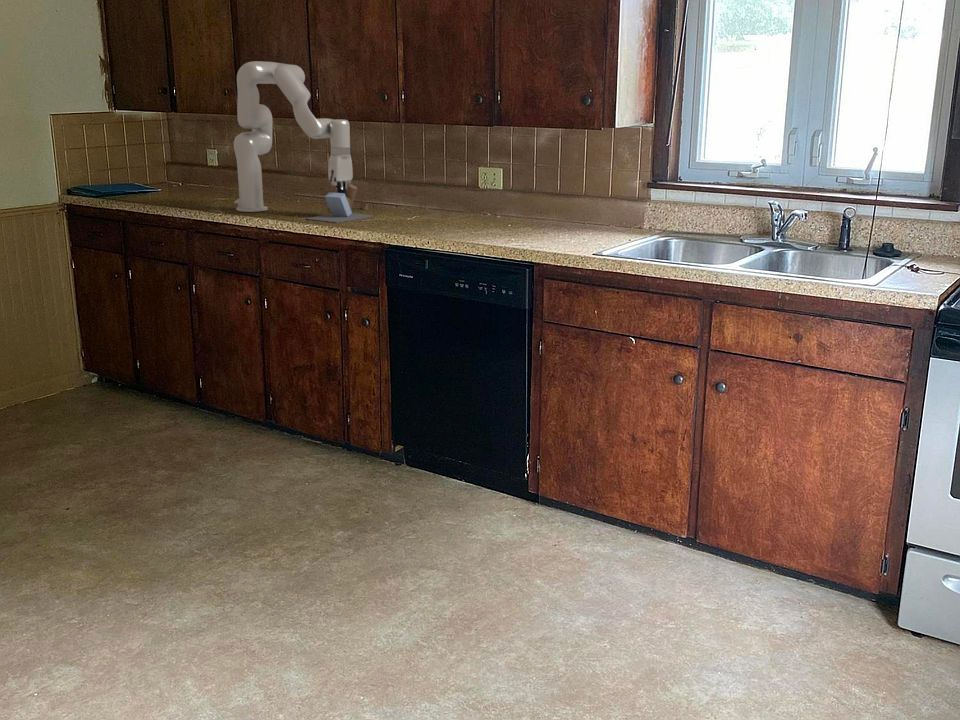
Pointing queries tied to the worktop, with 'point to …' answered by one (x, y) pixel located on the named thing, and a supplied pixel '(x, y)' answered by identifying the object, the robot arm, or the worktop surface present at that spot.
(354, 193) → the wooden block set
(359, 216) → the mat
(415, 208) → the worktop surface
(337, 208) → the slab
